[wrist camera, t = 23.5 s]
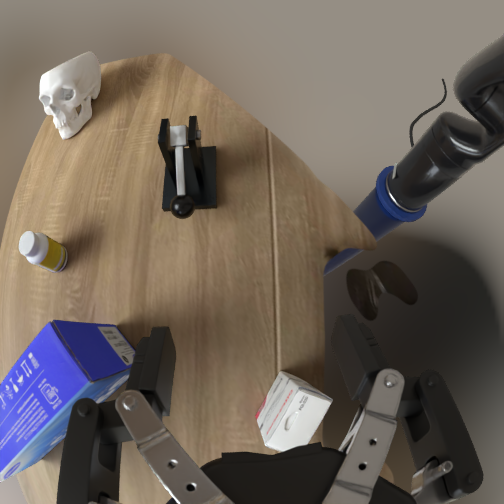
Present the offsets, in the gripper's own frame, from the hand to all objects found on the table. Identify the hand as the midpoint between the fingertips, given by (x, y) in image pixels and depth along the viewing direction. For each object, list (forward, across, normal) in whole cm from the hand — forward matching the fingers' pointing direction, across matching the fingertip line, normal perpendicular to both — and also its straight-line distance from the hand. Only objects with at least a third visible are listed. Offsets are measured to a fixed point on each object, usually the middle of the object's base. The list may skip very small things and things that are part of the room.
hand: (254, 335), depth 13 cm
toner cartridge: (+10, +32, +31) cm, 45 cm away
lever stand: (+38, +8, +2) cm, 39 cm away
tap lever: (+31, +8, -1) cm, 32 cm away
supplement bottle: (+29, +34, +12) cm, 46 cm away
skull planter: (+57, +38, -16) cm, 70 cm away
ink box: (+12, -5, +28) cm, 31 cm away
